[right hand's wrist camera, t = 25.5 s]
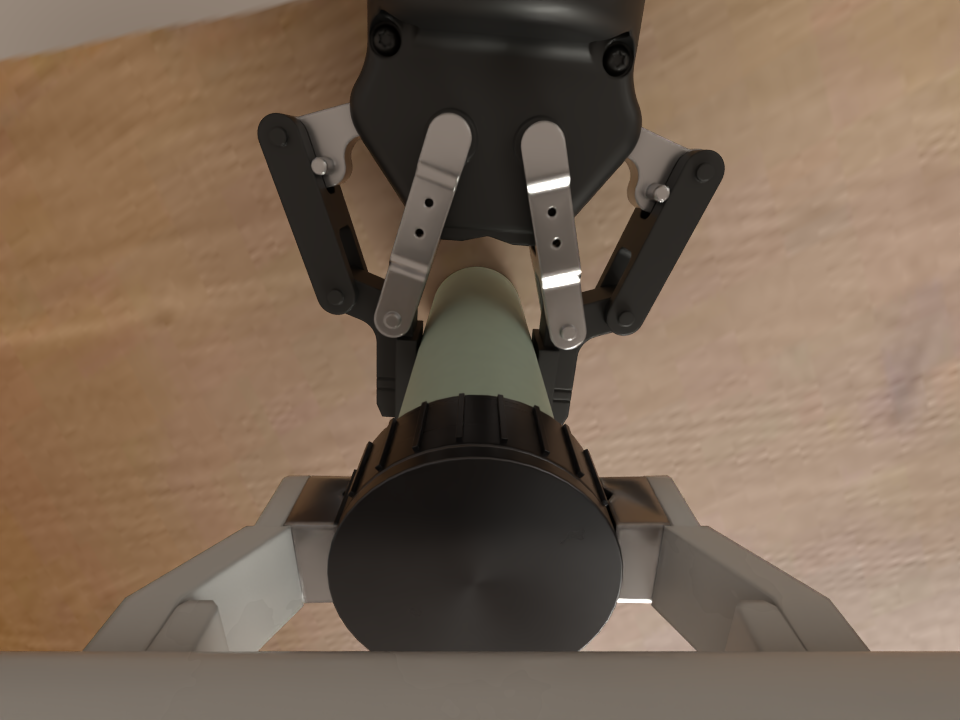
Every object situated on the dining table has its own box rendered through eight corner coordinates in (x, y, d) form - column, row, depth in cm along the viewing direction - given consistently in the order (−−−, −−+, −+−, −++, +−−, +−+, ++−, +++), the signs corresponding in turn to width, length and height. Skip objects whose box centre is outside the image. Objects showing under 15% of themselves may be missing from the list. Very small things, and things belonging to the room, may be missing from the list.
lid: (502, 625, 12) (508, 723, 10) (307, 524, 11) (268, 611, 9) (650, 475, 11) (692, 555, 8) (440, 339, 9) (430, 392, 7)
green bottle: (493, 365, 25) (514, 652, 11) (417, 326, 24) (330, 579, 10) (537, 293, 23) (630, 510, 9) (458, 249, 23) (426, 413, 8)
